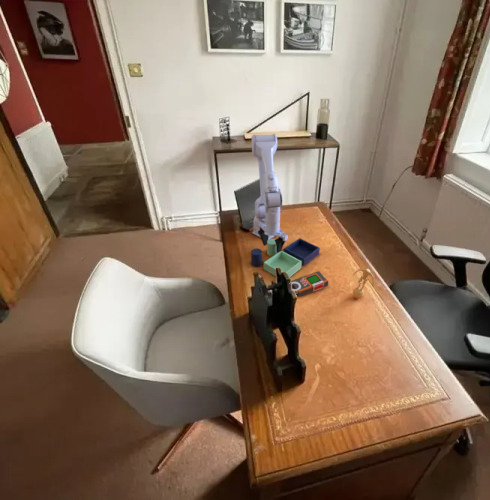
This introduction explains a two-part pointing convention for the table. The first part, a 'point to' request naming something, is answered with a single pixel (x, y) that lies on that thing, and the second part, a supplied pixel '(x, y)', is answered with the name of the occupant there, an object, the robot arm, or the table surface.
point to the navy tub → (302, 251)
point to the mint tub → (282, 264)
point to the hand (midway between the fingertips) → (272, 248)
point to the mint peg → (271, 247)
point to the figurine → (358, 291)
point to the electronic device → (309, 283)
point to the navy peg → (256, 257)
